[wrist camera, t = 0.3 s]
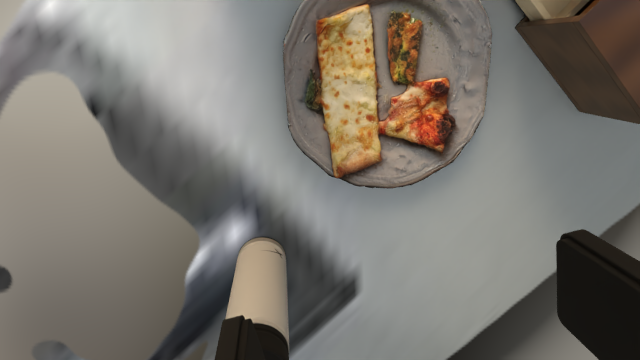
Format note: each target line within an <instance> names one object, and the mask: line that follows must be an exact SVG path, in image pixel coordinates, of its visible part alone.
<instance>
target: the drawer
mask: <svg viewBox="0 0 640 360" xmlns="http://www.w3.org/2000/svg"><path fill="white" fill-rule="evenodd" d="M515 1H516V2H517V4H518V5H519V6H520V8H521V9H522V10H523V12H524V13H525V14H526V16H527V17H528V18H529V20H530V21H536V20H544V19H553V18H562V17H570V16H574V15H575V14H576V13H577V12H578V11H579V10H580V9H581V8H582V7H583V6H584V5H585V4H586V3H587V2H588V1H589V0H515Z"/></svg>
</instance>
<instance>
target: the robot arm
mask: <svg viewBox="0 0 640 360" xmlns="http://www.w3.org/2000/svg"><path fill="white" fill-rule="evenodd" d="M556 251H557V313H558V317H559V319H560V321H561V323H562V324H563V325H564V326H565V327H566V328H567V329H568V330H569V331H570V332H571V333H572V334H573V335H574V336H575V337H576V338H577V339H578V340H579V341H580V342H581V343H582V344H583V345H584V346H585V347H586V348H587V349H588V350H590V351H591V352H592V353H593V354H594V355H595V356H596V357H597V358H598V359H599V360H640V261H638V260H636V259H635V258H633V257H631V256H629V255H628V254H626V253H624V252H623V251H621V250H619V249H617V248H616V247H614V246H612V245H611V244H609V243H607V242H605V241H604V240H602V239H600V238H599V237H597V236H595V235H594V234H592V233H590V232H588V231H586V230H577V231H573V232H569V233H565V234H563V235H562V236H561V238H560V240H559V241H558V242H557V245H556ZM215 360H265V357H264V354H263V351H262V348H261V345H260V342H259V339H258V336H257V333H256V330H255V328H254V325H253V322H252V320H251V319H250V318H249V319H245V317H244V316H243V315H240V316H236V317H232V318H228V319H224V320H223V322H222V327H221V332H220V337H219V341H218V346H217V351H216V356H215Z"/></svg>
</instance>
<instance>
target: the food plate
mask: <svg viewBox="0 0 640 360" xmlns="http://www.w3.org/2000/svg"><path fill="white" fill-rule="evenodd" d="M284 40H285V41H284V46H283V47H284V53H283V54H284V56H283V62H284V74H285V90H286V102H287V116H288V121H289V124H290V125H288V128H289V130H290V132H291V135H292V137H293V140H294V141H295V143H296V144H297V146H298V147H299V148H300V149H301V151H302V152H303V153H304V154H305V155H306V156H308V157H309V158H310V159H311V160H312V161H313V162H315V163H316V164H317V165H318V166H320V167H321V169H323V170H324V171H325V172H326V173H327V174H328V175H330V176H331V177H335V178H339V179H342V180H344V181H346V182H348V183H350V184H353V185H355V186H365V187H369V188H374V187H376V188H396V187H404V186H406V185H412V184H414V183H417V182H419V181H421V180H424V179H425V178H427V177H428V176H430V175H431V174H433V173H435V172H437V171H439V170H440V169H442V168H444V167H446V166H447V165H449V164H450V163H452V162H453V161H454V160H455V159H456V158H457V156H458V155H459V154H460V152H461V149H462V150H463V148H464V146H465V145H466V144H467V142H469V141H470V139H471V138H472V136H473V134H474V133H475V132H476V129H477V127H478V126H479V123H480V121H481V120H482V118H483V115H484V110H485V103H486V101H485V100H486V92H487V86H488V85H487V83H488V82H487V81H488V76H489V69H488V68H489V63H490V54H491V53H490V52H491V48H490V47H489V46H490V44H492V43H491V42H492V41H491V40H492V31H491V27H490V23H489V19H488V16H487V14H486V12H485V9H484V8H483V6H482V5H481V4H480V2H479V1H478V0H303V2H302V3H301V5H300V6H299V8H298V10H297V11H296V13H295V15H294V16H293V19H292V22H291V25H290V28H289V30H288V32H287V35H286V36H285V38H284Z"/></svg>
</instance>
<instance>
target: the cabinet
mask: <svg viewBox="0 0 640 360" xmlns="http://www.w3.org/2000/svg"><path fill="white" fill-rule="evenodd" d="M515 28H516V29H517V31H518V32H519V33H520V35H521V36H522V37H523V39H524V40H525V41H526V42H527V44H528V45H529V46H530V48H531V49H532V50H533V52H534V53H535V54H536V55H537V57H538V58H539V59H540V61H541V62H542V63H543V65H544V66H545V67H546V68H547V70H548V71H549V72H550V74H551V75H552V76H553V78H554V79H555V80H556V81H557V83H558V84H559V85H560V87H561V88H562V89H563V91H564V92H565V93H566V94H567V96H568V97H569V98H570V100H571V101H572V102H573V104H574V105H575V106H576V107H577V109H578V110H579V111H580V112H583V113H588V114H593V115H598V116H602V117H607V118H612V119H617V120H622V121H627V122H632V123H637V124H640V0H589V1H588V2H587V3H586V4H585V5H584V6H583V7H582V8H581V9H580V10H579V11H578V12H577V13H576V14H575V15H574V16H570V17H562V18H553V19H544V20H536V21H530V20H529V18H528V17H527V16H526V17H525V18H524V19H523V20H522V21H521V22H520V23H519V24H518V25H517V26H516V27H515Z"/></svg>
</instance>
